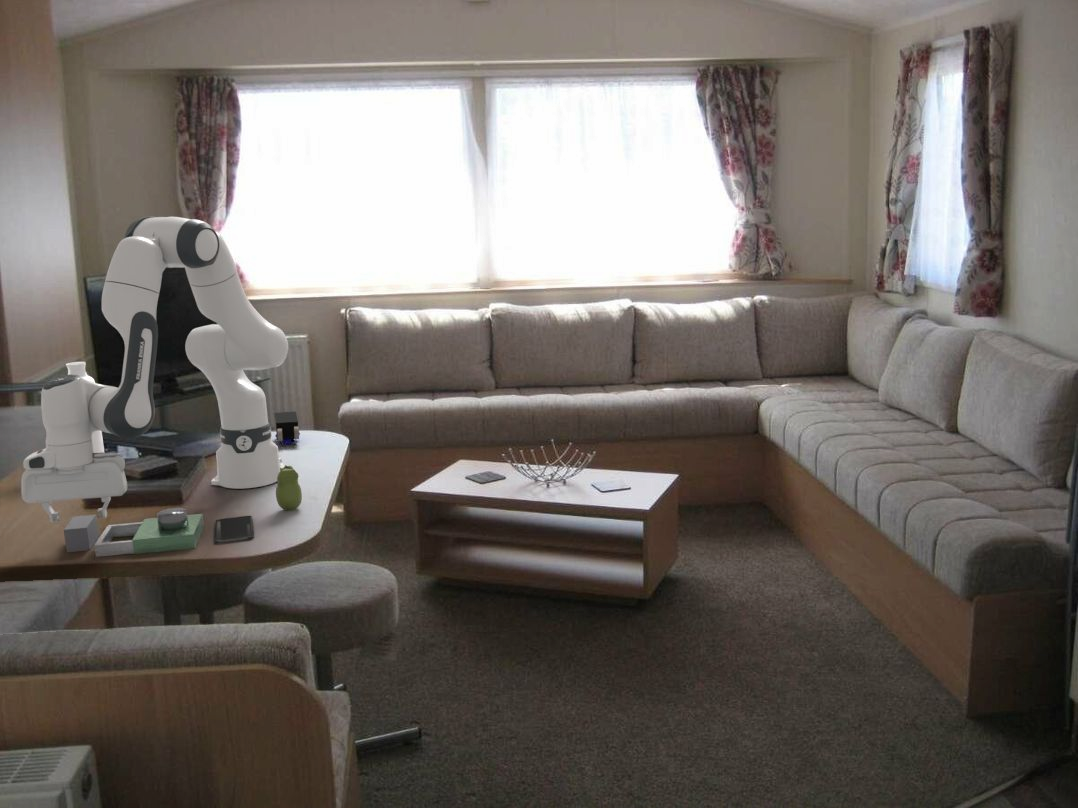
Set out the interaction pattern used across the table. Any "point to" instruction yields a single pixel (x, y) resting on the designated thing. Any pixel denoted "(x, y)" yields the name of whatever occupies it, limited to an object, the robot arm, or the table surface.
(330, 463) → the table surface
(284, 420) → the figurine character
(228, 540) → the phone
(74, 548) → the grey rectangular cuboid
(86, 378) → the bottle
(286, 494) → the pear
